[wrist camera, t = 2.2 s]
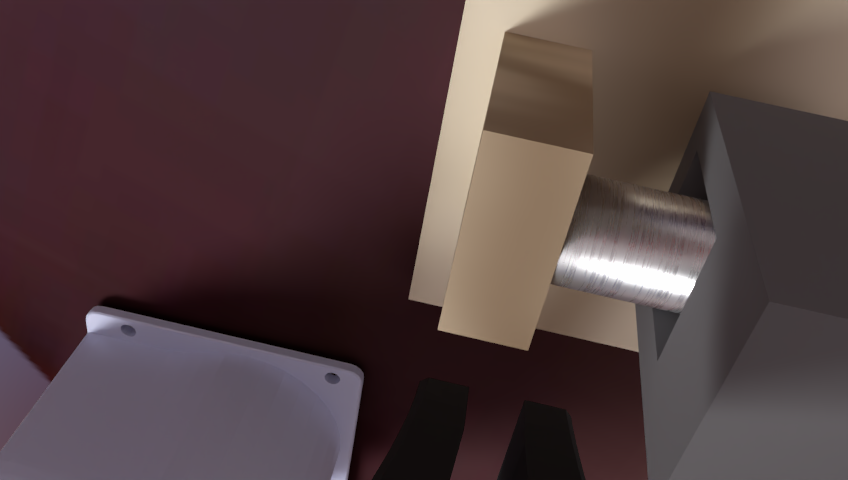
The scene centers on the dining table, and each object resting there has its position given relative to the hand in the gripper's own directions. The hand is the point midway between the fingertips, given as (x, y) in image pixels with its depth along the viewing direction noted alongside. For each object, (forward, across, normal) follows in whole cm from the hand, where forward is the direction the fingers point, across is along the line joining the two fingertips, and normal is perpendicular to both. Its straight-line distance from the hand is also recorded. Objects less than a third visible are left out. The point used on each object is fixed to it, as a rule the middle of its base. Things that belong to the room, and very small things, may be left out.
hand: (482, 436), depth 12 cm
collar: (+8, -5, 0) cm, 10 cm away
